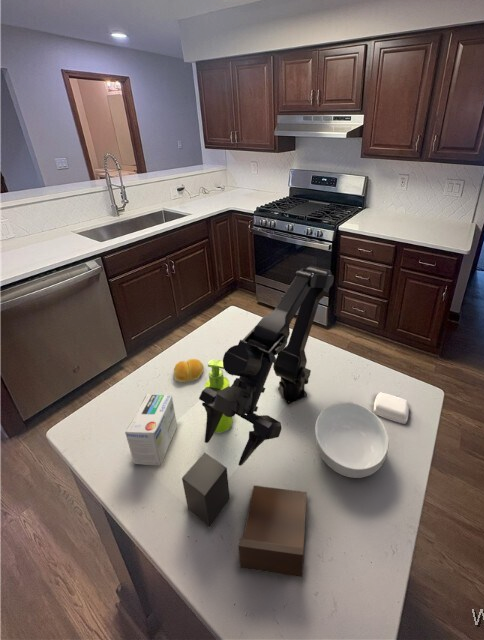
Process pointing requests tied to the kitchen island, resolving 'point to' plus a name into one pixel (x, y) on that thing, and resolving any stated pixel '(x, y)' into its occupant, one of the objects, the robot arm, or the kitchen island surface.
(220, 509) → the dark grey upright block
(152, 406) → the light bulb box
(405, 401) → the soap
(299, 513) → the brown shallow tray
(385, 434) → the cereal bowl
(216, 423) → the robot arm
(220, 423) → the soap dispenser
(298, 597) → the kitchen island surface
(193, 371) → the bread roll
